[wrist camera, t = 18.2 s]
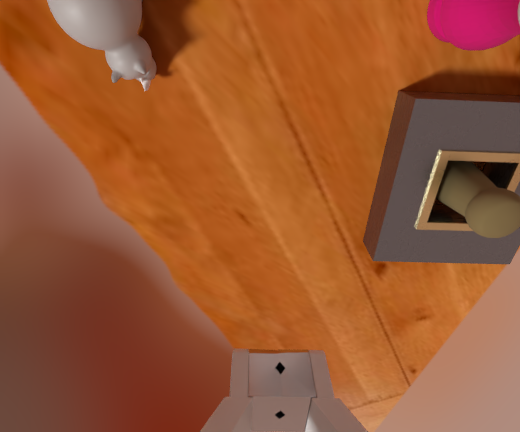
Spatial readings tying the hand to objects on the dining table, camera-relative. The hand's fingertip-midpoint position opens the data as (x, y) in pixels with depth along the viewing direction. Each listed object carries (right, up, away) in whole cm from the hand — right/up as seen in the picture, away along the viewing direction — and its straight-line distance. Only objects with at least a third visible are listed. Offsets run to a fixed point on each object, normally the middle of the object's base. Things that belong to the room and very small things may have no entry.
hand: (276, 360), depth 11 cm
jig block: (+23, +10, +31) cm, 40 cm away
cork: (+23, +10, +31) cm, 40 cm away
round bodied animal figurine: (-14, +24, +22) cm, 36 cm away
